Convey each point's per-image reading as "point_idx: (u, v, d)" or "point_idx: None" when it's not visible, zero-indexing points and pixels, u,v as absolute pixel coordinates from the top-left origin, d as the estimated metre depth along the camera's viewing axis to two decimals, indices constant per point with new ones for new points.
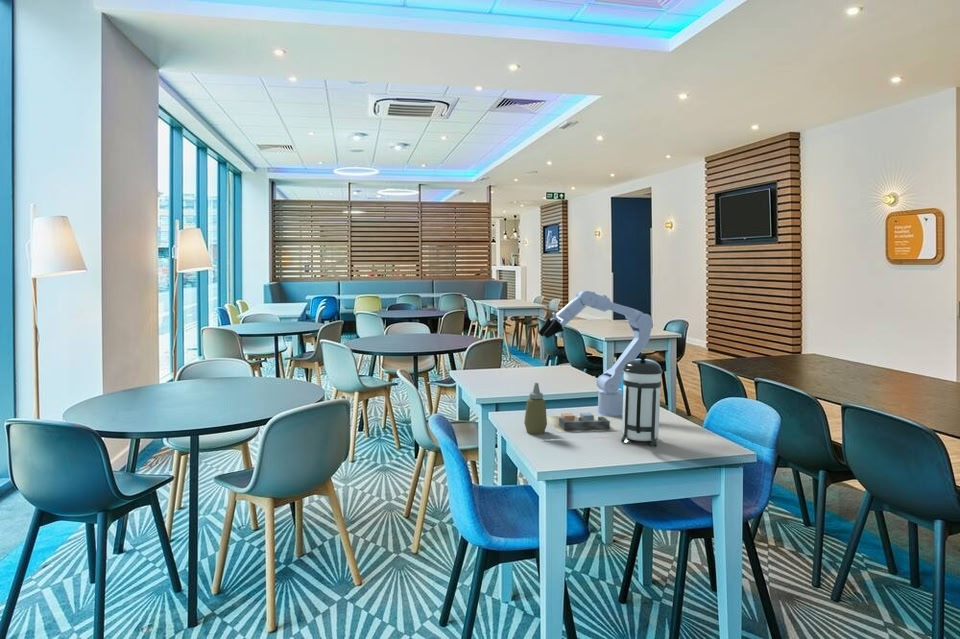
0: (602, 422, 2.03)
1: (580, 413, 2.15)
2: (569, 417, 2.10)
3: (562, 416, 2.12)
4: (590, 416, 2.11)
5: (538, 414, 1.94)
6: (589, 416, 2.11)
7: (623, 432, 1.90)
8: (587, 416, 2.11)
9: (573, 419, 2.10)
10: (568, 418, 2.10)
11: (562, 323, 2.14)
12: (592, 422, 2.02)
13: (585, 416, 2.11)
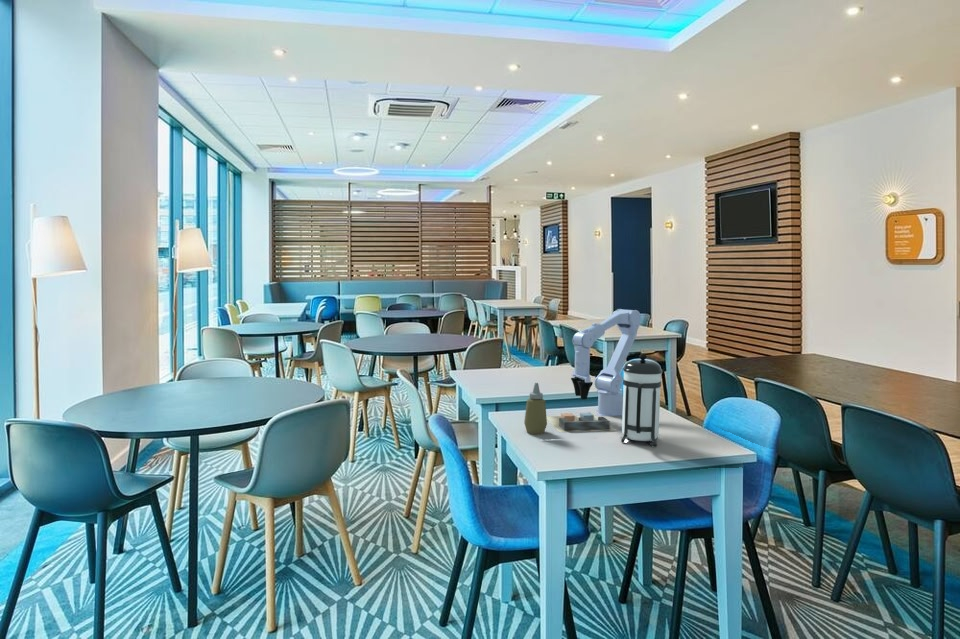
0: (602, 422, 2.03)
1: (580, 413, 2.15)
2: (569, 417, 2.10)
3: (562, 416, 2.12)
4: (590, 416, 2.11)
5: (538, 414, 1.94)
6: (589, 416, 2.11)
7: (623, 432, 1.90)
8: (587, 416, 2.11)
9: (573, 419, 2.10)
10: (568, 418, 2.10)
11: (587, 381, 2.12)
12: (592, 422, 2.02)
13: (585, 416, 2.11)
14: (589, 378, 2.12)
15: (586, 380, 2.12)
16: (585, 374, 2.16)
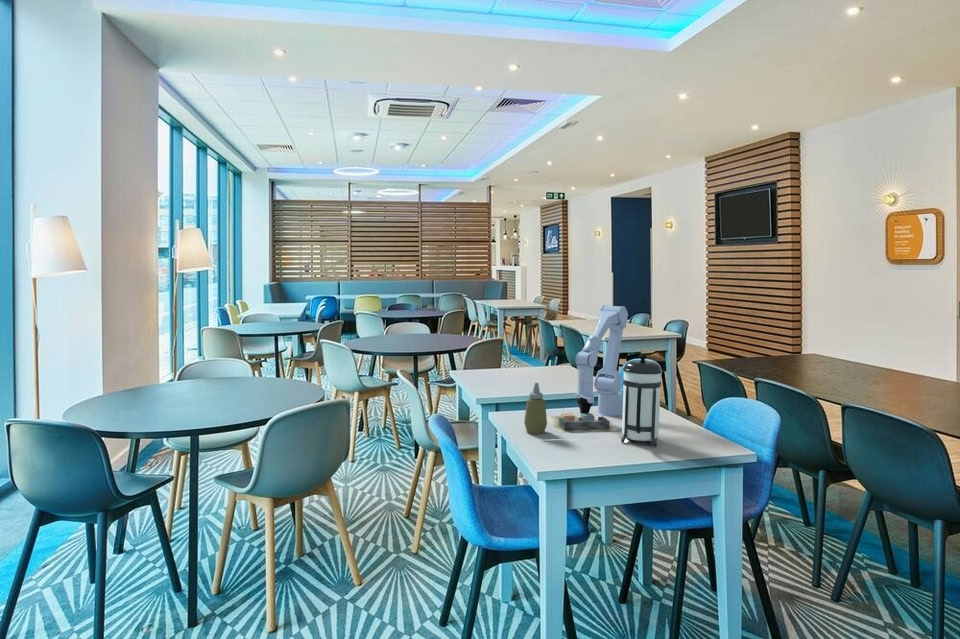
0: (602, 422, 2.03)
1: (581, 413, 2.14)
2: (569, 417, 2.10)
3: (562, 416, 2.12)
4: (591, 416, 2.11)
5: (538, 414, 1.94)
6: (590, 416, 2.11)
7: (623, 432, 1.90)
8: (588, 416, 2.10)
9: (573, 419, 2.10)
10: (568, 418, 2.10)
11: (590, 401, 2.08)
12: (592, 422, 2.02)
13: (586, 416, 2.10)
14: (593, 399, 2.08)
15: (589, 401, 2.08)
16: (588, 394, 2.12)
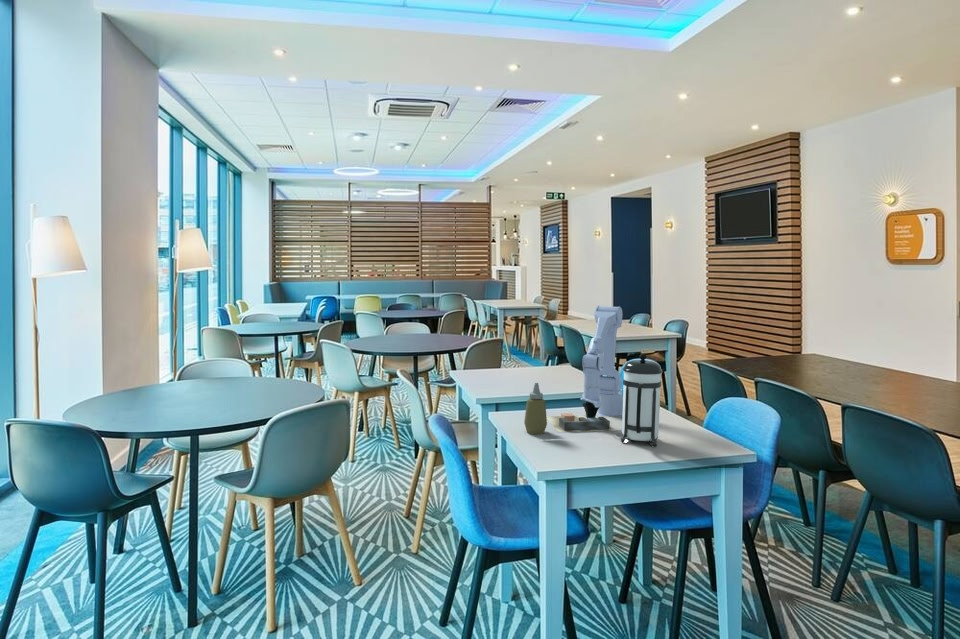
0: (602, 422, 2.03)
1: (587, 418, 2.07)
2: (569, 417, 2.10)
3: (562, 416, 2.12)
4: None
5: (538, 414, 1.94)
6: None
7: (623, 432, 1.90)
8: None
9: (573, 419, 2.10)
10: (568, 418, 2.10)
11: (597, 405, 2.01)
12: (592, 422, 2.02)
13: None
14: (599, 403, 2.01)
15: (596, 405, 2.01)
16: (595, 398, 2.06)
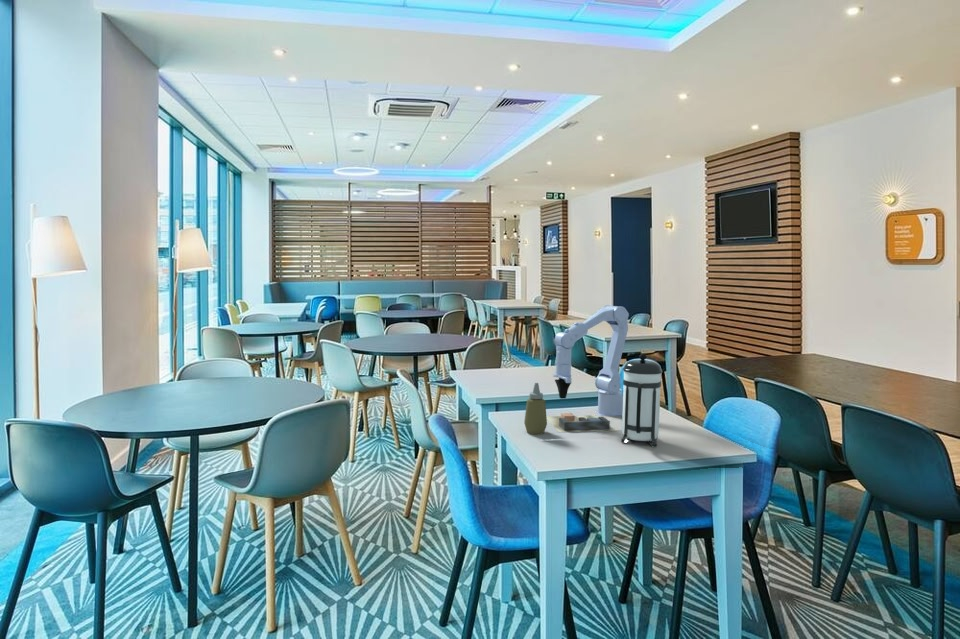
0: (602, 422, 2.03)
1: (587, 418, 2.07)
2: (569, 417, 2.10)
3: (562, 416, 2.12)
4: None
5: (538, 414, 1.94)
6: None
7: (623, 432, 1.90)
8: None
9: (573, 419, 2.10)
10: (568, 418, 2.10)
11: (568, 381, 2.11)
12: (592, 422, 2.02)
13: None
14: (570, 379, 2.11)
15: (567, 381, 2.11)
16: (566, 374, 2.15)
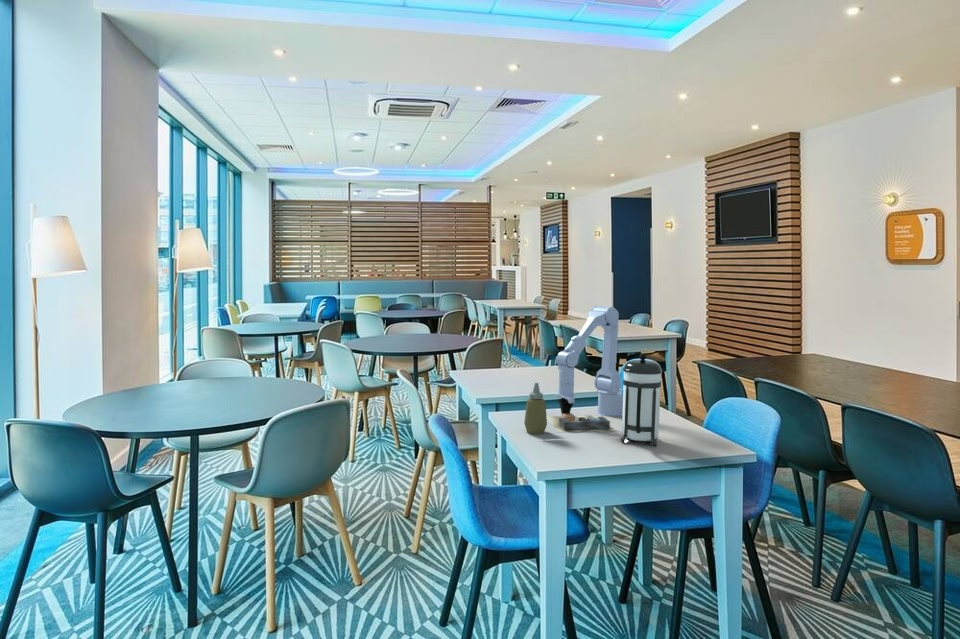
0: (602, 422, 2.03)
1: (587, 418, 2.07)
2: (569, 417, 2.10)
3: (562, 416, 2.12)
4: None
5: (538, 414, 1.94)
6: None
7: (623, 432, 1.90)
8: None
9: (573, 419, 2.10)
10: (568, 418, 2.10)
11: (571, 401, 2.07)
12: (592, 422, 2.02)
13: None
14: (573, 399, 2.07)
15: (570, 401, 2.07)
16: (569, 394, 2.12)
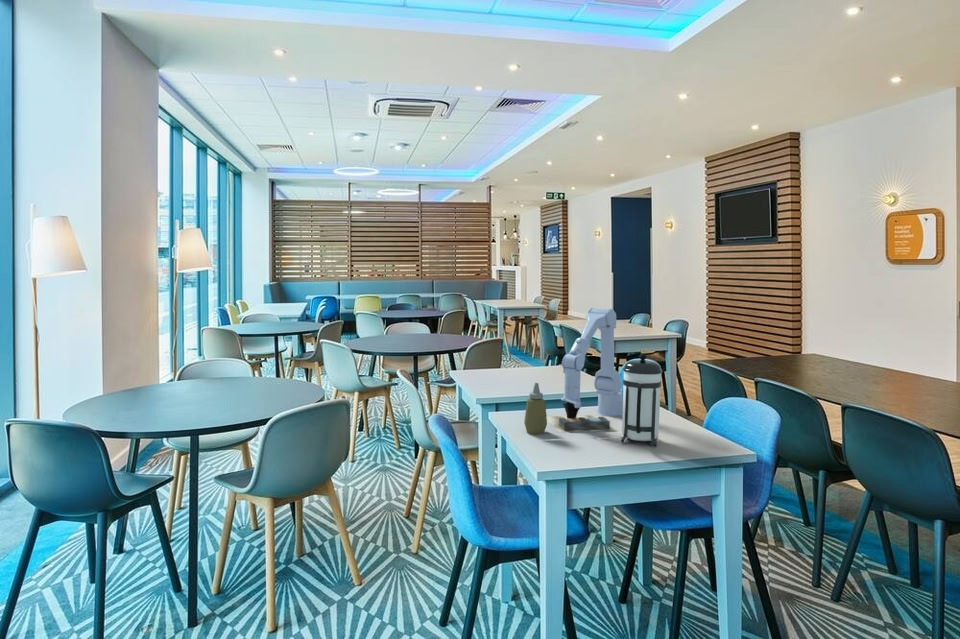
0: (602, 422, 2.03)
1: (587, 418, 2.07)
2: None
3: None
4: None
5: (538, 414, 1.94)
6: None
7: (623, 432, 1.90)
8: None
9: None
10: None
11: (577, 406, 2.00)
12: (592, 422, 2.02)
13: None
14: (579, 403, 2.00)
15: (576, 405, 2.00)
16: (575, 398, 2.05)
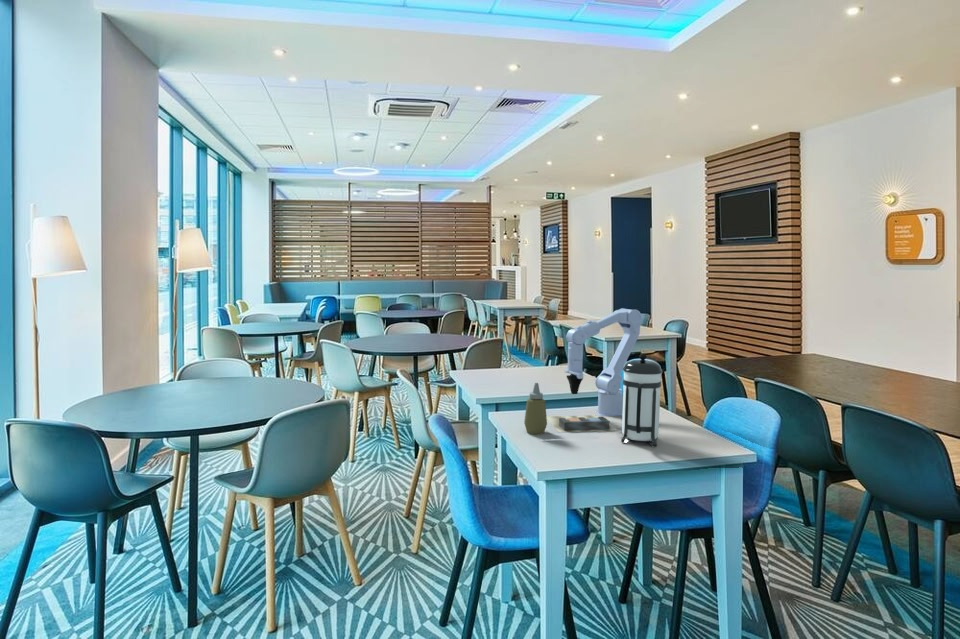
0: (602, 422, 2.03)
1: (587, 418, 2.07)
2: None
3: None
4: None
5: (538, 414, 1.94)
6: None
7: (623, 432, 1.90)
8: None
9: None
10: None
11: (580, 377, 2.14)
12: (592, 422, 2.02)
13: None
14: (582, 374, 2.14)
15: (579, 376, 2.14)
16: (578, 370, 2.18)
